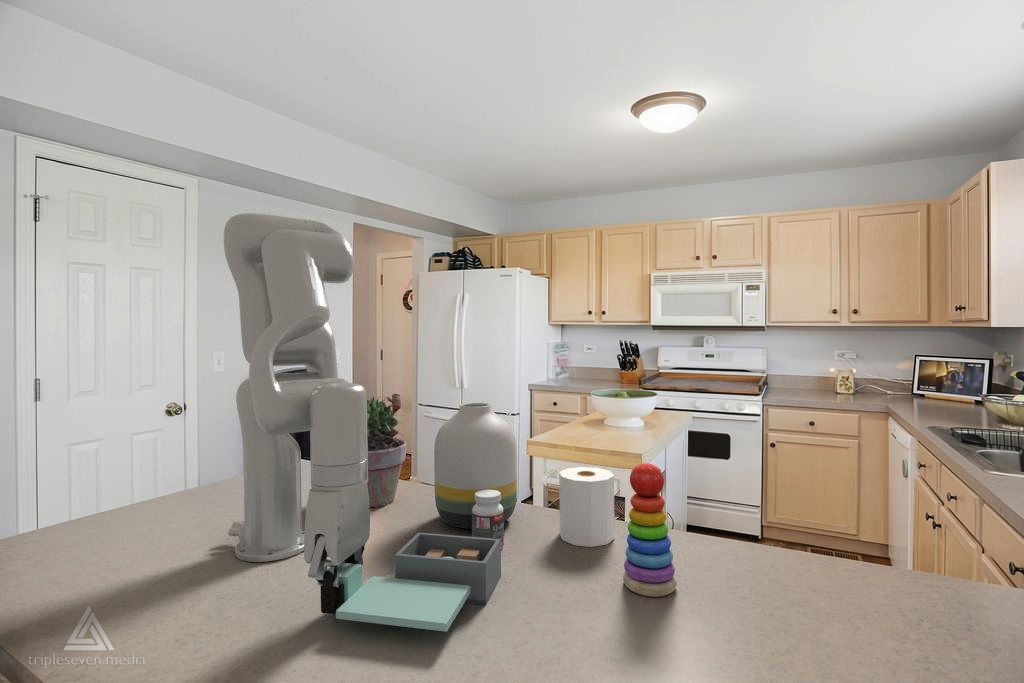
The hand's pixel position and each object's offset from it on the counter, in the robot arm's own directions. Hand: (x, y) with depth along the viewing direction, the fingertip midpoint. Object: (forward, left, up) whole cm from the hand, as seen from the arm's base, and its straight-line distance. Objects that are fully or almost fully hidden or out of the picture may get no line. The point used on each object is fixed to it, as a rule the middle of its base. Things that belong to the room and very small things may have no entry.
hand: (341, 603), depth 74 cm
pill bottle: (+14, +26, -2) cm, 30 cm away
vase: (+8, +39, -2) cm, 40 cm away
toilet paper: (+31, +35, -2) cm, 47 cm away
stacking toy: (+42, +17, -2) cm, 45 cm away
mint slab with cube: (+8, 0, +1) cm, 8 cm away
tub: (+12, +11, -2) cm, 16 cm away
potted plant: (-20, +46, -2) cm, 50 cm away
